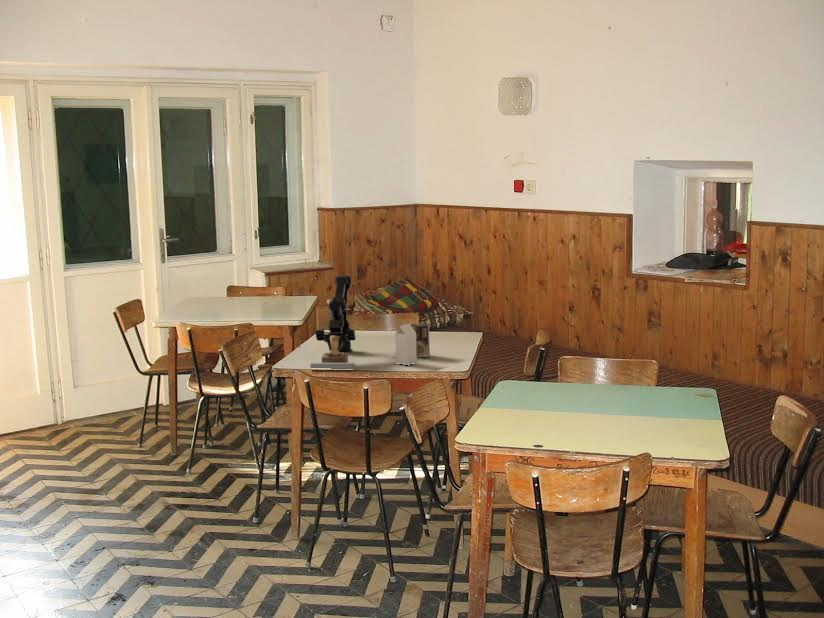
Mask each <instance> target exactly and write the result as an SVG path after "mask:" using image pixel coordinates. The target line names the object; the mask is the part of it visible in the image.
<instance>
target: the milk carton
mask: <svg viewBox="0 0 824 618" xmlns="http://www.w3.org/2000/svg"><path fill="white" fill-rule="evenodd" d="M411 324H412V323H407V324H403V325H400V327H399V328H398V330H397V331H396V332H395V334H394V338H395V341H394V342H395V343H394V344H395V364H396V363H400V364H405V365H408V364H412V363H416V362H418V361H417V359H418V358H417V356H416V332H415V331H414V329H413V328H412V327H411ZM416 364H417V363H416ZM412 365H413V364H412ZM408 366H409V365H408Z"/></svg>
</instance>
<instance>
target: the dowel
mask: <svg viewBox="0 0 824 618" xmlns="http://www.w3.org/2000/svg"><path fill="white" fill-rule="evenodd" d="M338 347H339V336H337V335H332V336H330V349H331V350H330V353H331V356H339V353H340V352H339V350H338Z"/></svg>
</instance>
